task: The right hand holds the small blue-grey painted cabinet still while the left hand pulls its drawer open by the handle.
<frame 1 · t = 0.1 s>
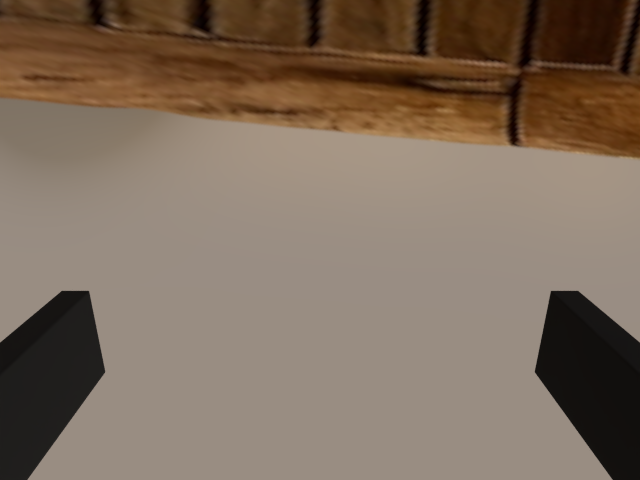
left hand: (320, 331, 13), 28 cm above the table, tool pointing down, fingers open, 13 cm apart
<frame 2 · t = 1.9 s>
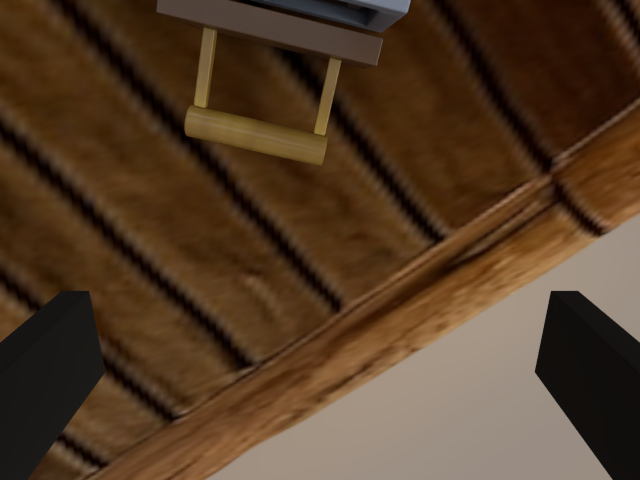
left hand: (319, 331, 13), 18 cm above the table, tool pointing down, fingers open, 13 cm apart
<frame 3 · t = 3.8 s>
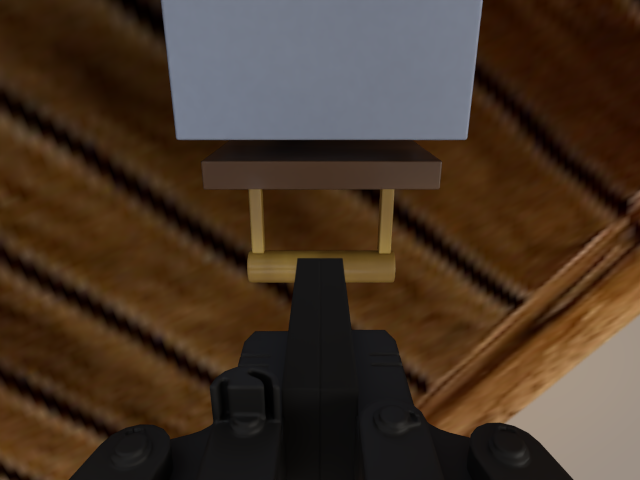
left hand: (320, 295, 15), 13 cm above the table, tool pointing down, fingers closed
drawer: (321, 63, 20), point 4 cm above the table, slide at 1.0 cm
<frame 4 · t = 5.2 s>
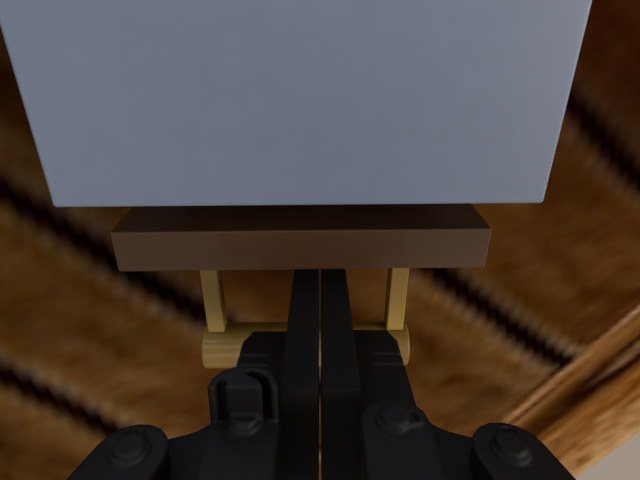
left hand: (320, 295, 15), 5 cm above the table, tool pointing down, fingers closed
drawer: (301, 59, 13), point 5 cm above the table, slide at 1.1 cm
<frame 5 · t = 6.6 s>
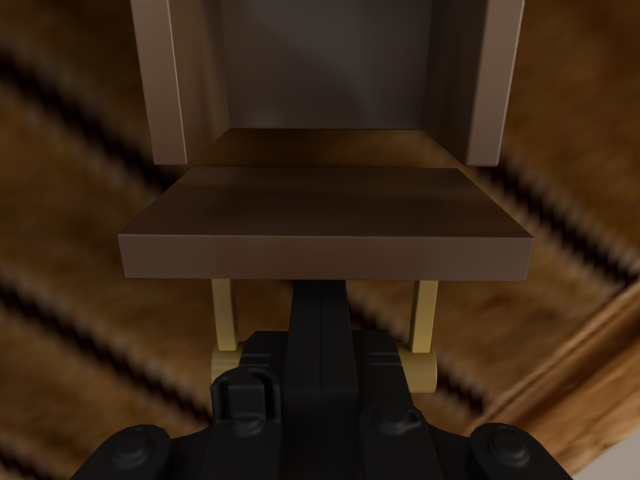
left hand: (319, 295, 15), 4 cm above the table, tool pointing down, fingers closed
drawer: (326, 58, 12), point 4 cm above the table, slide at 6.6 cm, touching left hand
when the right hand's fingers open (4 cm above the table, at t = 8.1 s): cabinet stays where it is, on the table.
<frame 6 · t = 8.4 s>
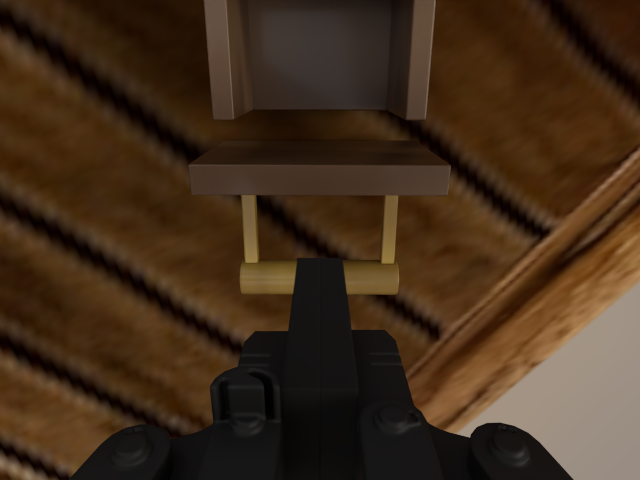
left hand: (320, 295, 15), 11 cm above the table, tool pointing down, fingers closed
drawer: (319, 58, 19), point 4 cm above the table, slide at 6.6 cm
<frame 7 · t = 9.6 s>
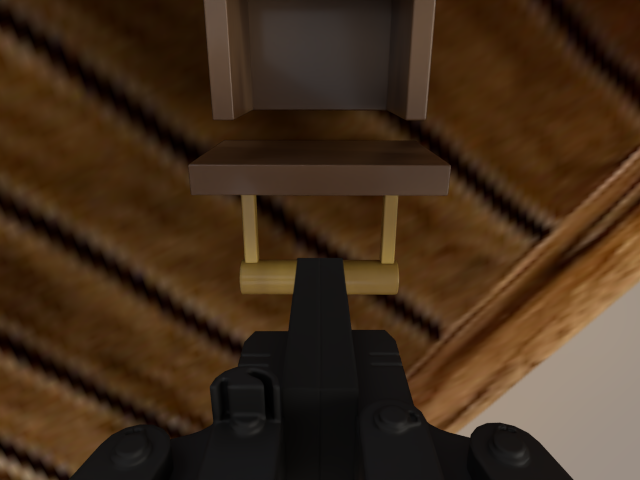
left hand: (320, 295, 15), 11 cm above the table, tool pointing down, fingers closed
drawer: (319, 58, 19), point 4 cm above the table, slide at 6.6 cm
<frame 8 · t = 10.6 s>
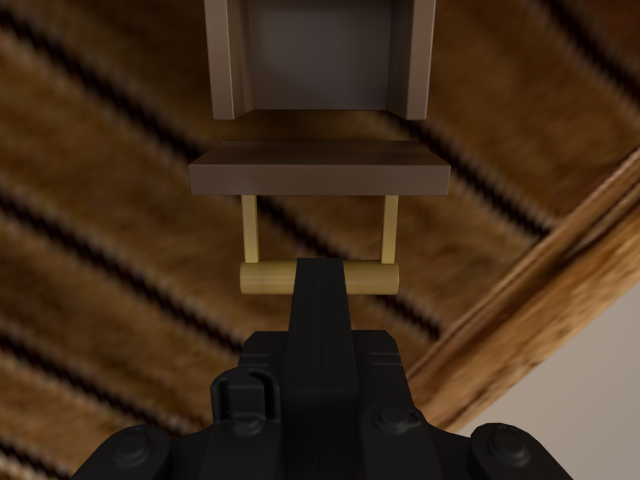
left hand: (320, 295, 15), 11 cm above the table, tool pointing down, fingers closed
drawer: (319, 58, 19), point 4 cm above the table, slide at 6.6 cm
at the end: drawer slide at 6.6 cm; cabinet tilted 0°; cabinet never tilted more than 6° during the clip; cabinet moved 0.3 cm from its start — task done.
